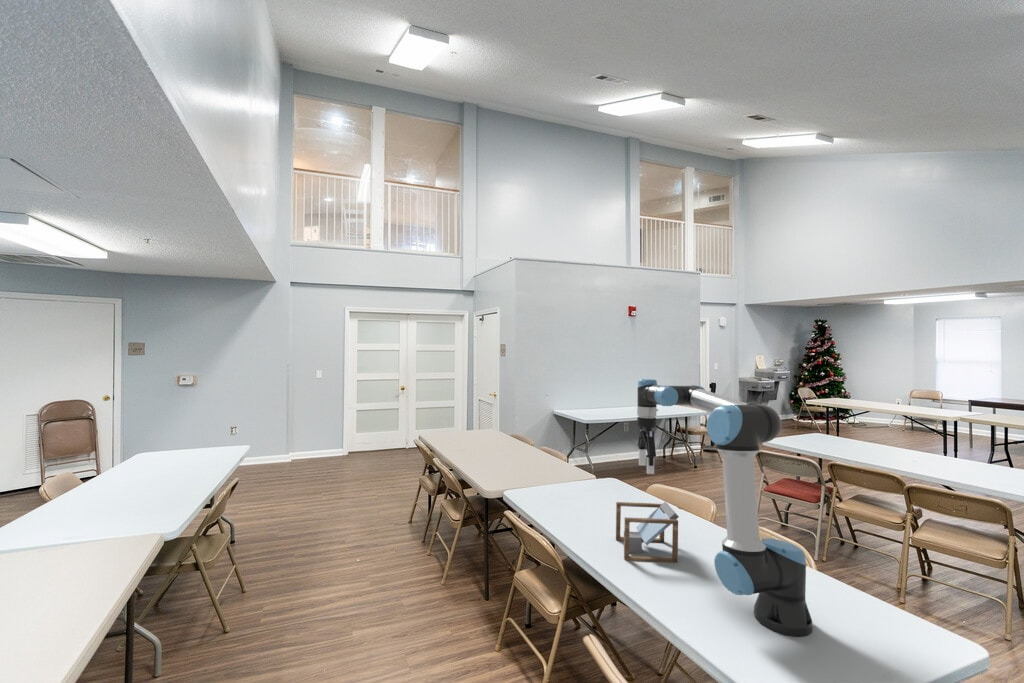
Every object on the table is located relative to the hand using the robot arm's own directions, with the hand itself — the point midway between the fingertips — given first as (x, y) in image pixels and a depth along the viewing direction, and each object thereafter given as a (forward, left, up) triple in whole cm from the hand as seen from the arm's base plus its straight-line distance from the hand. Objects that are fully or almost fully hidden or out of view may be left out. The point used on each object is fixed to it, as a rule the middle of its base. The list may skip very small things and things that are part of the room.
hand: (646, 469), depth 185 cm
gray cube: (0, +2, -29) cm, 30 cm away
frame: (0, 0, -32) cm, 33 cm away
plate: (0, -5, -22) cm, 23 cm away
